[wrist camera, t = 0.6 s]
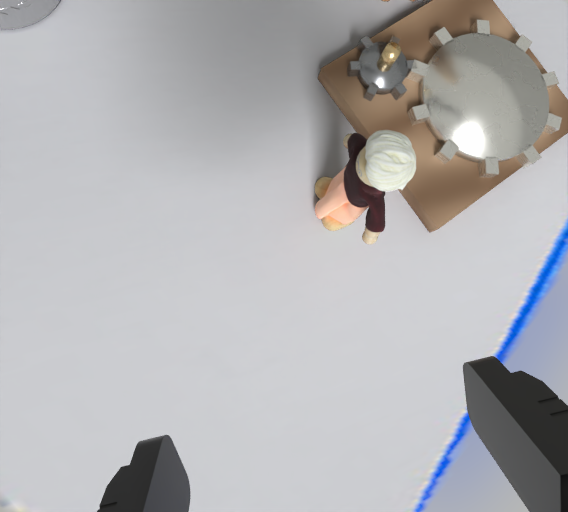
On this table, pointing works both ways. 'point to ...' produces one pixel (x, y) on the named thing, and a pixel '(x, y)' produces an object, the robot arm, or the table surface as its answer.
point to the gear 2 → (483, 98)
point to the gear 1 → (381, 68)
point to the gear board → (393, 113)
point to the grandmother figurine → (366, 181)
